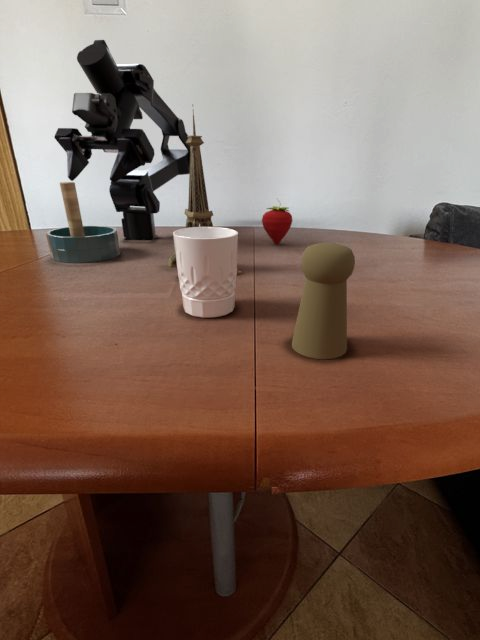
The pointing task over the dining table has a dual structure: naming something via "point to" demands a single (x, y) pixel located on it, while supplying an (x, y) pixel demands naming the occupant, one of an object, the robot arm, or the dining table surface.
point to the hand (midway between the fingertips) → (90, 180)
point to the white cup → (207, 269)
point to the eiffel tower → (196, 192)
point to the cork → (324, 301)
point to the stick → (72, 209)
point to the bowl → (83, 244)
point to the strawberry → (277, 223)
